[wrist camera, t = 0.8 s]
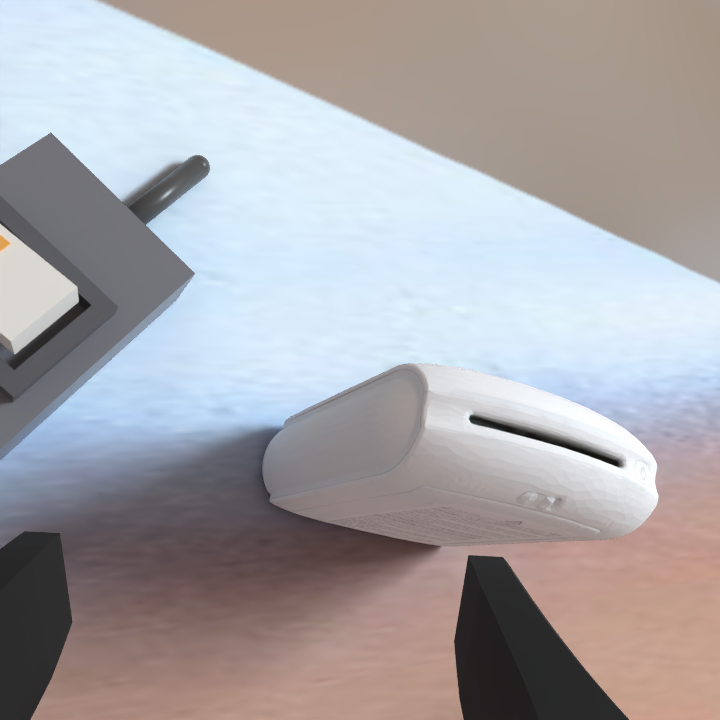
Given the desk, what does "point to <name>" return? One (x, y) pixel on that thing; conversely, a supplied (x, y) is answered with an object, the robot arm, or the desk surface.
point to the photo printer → (460, 462)
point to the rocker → (29, 293)
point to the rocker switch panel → (83, 274)
